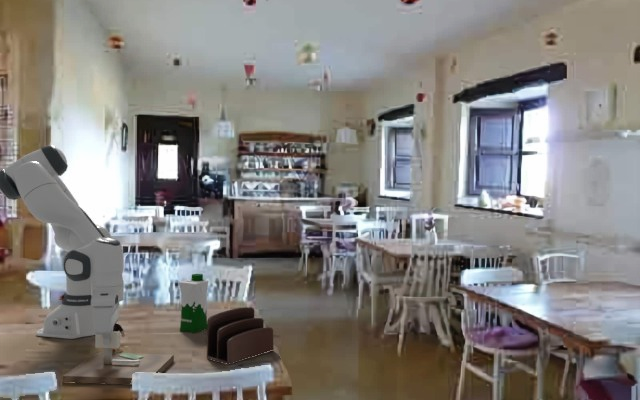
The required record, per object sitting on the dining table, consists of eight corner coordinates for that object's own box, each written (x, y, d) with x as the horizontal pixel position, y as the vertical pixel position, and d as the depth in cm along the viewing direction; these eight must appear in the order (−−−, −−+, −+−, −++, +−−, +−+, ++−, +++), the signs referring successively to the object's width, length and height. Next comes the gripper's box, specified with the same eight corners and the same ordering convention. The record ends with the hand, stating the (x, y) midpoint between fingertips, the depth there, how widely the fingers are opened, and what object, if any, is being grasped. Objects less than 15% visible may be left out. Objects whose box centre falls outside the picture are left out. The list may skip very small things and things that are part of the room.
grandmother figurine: (127, 349, 201) (127, 310, 200) (124, 353, 197) (123, 313, 197) (103, 349, 201) (103, 310, 200) (99, 353, 197) (99, 313, 196)
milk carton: (210, 328, 229) (210, 274, 228) (195, 334, 221) (195, 278, 220) (192, 325, 233) (192, 272, 232) (175, 331, 225) (175, 276, 224)
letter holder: (206, 359, 192) (206, 314, 192) (252, 346, 207) (252, 304, 207) (227, 366, 186) (228, 319, 185) (274, 351, 201) (274, 308, 200)
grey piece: (95, 364, 179) (95, 332, 178) (98, 361, 181) (98, 330, 181) (136, 365, 178) (136, 333, 177) (139, 362, 180) (139, 331, 180)
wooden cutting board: (62, 383, 169) (62, 374, 169) (97, 358, 191) (97, 351, 191) (149, 385, 168) (149, 377, 168) (173, 361, 190) (173, 353, 189)
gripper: (102, 288, 188) (102, 333, 189) (89, 301, 168) (89, 352, 169) (124, 287, 189) (124, 332, 190) (113, 301, 169) (113, 351, 170)
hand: (107, 342), depth 179 cm, fingers closed on grey piece, 2 cm apart
